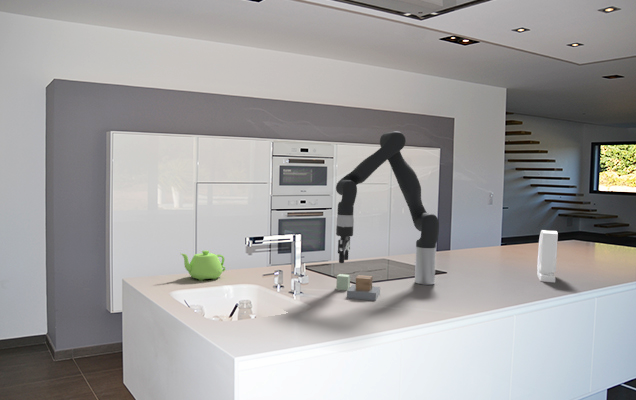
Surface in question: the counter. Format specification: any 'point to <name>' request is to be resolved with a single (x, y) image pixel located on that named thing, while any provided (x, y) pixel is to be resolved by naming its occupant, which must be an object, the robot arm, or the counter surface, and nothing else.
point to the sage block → (343, 282)
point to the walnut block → (364, 283)
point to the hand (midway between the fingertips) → (343, 261)
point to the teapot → (204, 265)
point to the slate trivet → (363, 293)
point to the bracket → (547, 255)
